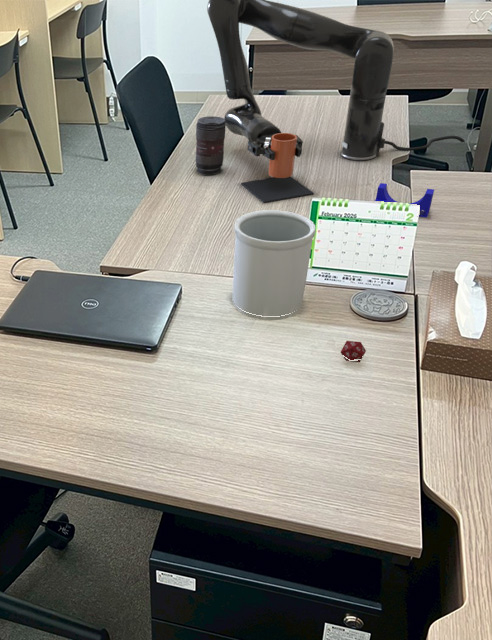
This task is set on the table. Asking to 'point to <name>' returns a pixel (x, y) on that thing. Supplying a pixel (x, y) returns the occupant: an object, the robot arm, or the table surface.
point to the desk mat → (276, 189)
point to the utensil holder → (271, 263)
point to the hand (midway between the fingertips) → (286, 154)
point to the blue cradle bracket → (423, 202)
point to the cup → (283, 155)
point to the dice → (353, 350)
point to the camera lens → (210, 144)
